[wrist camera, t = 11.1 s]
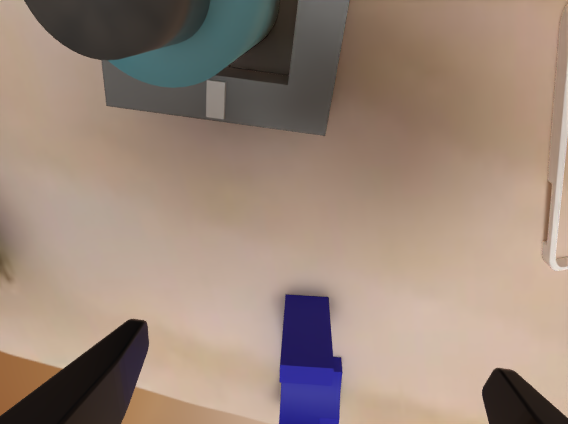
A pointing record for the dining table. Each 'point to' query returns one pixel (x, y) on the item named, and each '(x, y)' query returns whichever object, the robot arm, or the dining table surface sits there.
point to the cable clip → (308, 363)
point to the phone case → (558, 147)
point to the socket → (255, 82)
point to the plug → (159, 34)
